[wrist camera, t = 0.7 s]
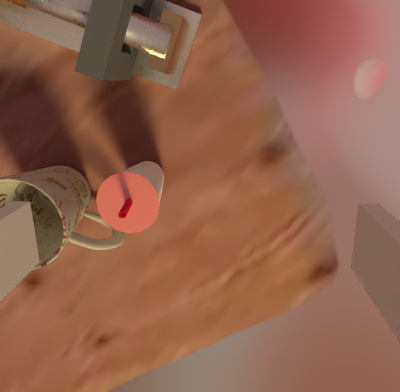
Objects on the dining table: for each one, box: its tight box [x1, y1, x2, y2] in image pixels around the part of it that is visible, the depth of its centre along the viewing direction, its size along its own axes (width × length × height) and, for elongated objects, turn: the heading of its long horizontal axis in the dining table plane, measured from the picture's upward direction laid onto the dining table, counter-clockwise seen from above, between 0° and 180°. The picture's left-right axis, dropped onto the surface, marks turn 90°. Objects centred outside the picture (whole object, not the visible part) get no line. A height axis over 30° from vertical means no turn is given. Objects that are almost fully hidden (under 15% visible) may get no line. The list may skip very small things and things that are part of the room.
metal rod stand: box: [0, 0, 202, 90], centre depth 32 cm, size 20×7×8 cm, turn 70°
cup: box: [96, 161, 164, 233], centre depth 35 cm, size 5×5×12 cm
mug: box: [0, 165, 125, 270], centre depth 37 cm, size 8×13×10 cm, turn 69°
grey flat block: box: [75, 0, 154, 81], centre depth 29 cm, size 2×8×8 cm, turn 160°
